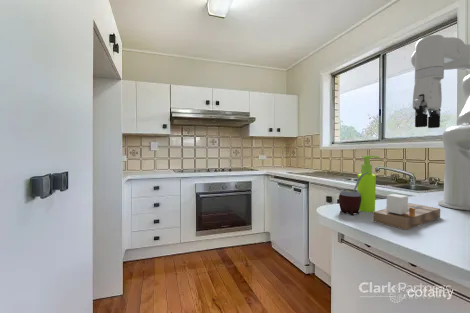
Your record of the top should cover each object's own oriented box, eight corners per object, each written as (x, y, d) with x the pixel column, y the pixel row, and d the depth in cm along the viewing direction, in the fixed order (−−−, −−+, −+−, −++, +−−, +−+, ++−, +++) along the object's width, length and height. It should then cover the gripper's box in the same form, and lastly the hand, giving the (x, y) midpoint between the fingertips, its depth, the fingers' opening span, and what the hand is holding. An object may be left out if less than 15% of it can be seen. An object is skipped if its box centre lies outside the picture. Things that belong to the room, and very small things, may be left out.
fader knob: (393, 209, 75) (393, 193, 75) (407, 212, 71) (408, 196, 71) (386, 211, 73) (386, 195, 72) (400, 214, 69) (401, 197, 69)
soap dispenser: (380, 212, 83) (382, 156, 83) (359, 211, 85) (360, 155, 84) (374, 208, 89) (375, 155, 88) (354, 207, 90) (355, 155, 90)
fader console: (408, 211, 86) (409, 196, 85) (440, 217, 78) (440, 201, 78) (373, 221, 74) (373, 203, 73) (406, 230, 66) (406, 210, 66)
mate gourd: (336, 210, 87) (337, 169, 86) (359, 211, 86) (360, 169, 85) (342, 215, 80) (343, 171, 79) (367, 217, 78) (368, 171, 78)
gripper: (426, 81, 87) (425, 128, 87) (403, 75, 78) (402, 127, 79) (453, 76, 80) (451, 127, 81) (431, 68, 71) (430, 125, 72)
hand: (427, 127), depth 80 cm, fingers open, 9 cm apart
